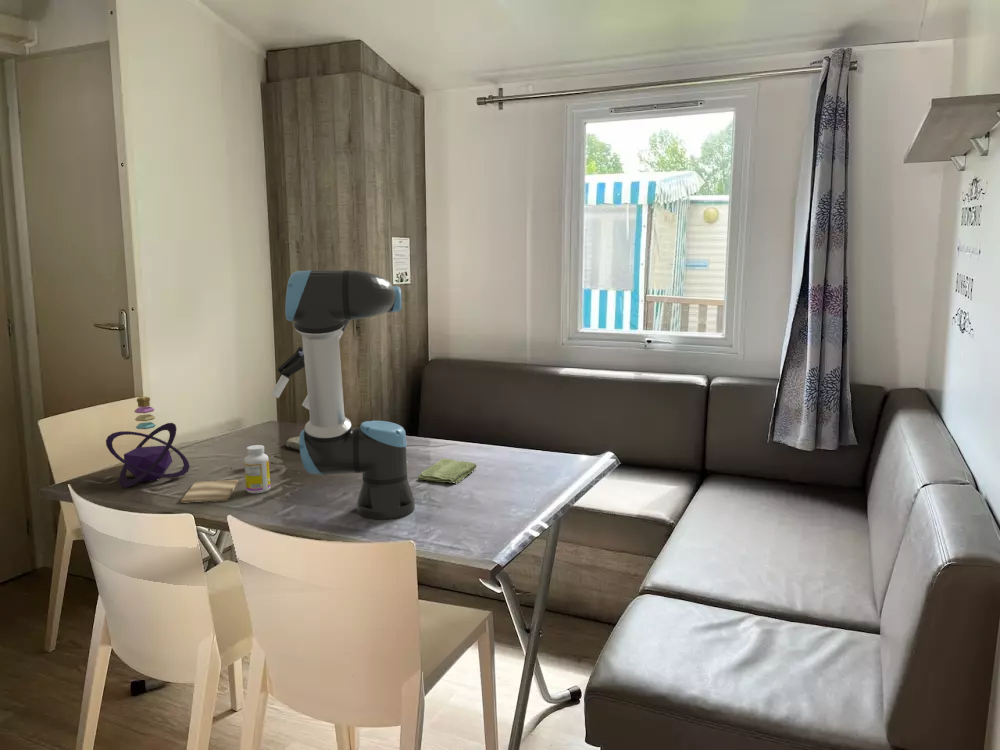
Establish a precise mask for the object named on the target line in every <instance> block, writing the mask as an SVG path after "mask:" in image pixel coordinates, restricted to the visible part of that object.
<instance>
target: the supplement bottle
mask: <svg viewBox="0 0 1000 750" xmlns="http://www.w3.org/2000/svg"><path fill="white" fill-rule="evenodd" d="M246 453H247V455H246V456H245V457H244V460H243V464H244V474H245V475H244V477H245V489H246V492H247V493H248V494H249V493H250V494H262V493H267V492H268V491H269V490H270V489H271V476H270V475H271V474H270V472H271V471H270V461H269V456H268V454H266V453H265V446H264V445H262V444H255V445H248V446H247V447H246Z"/></svg>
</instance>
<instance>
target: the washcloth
mask: <svg viewBox="0 0 1000 750" xmlns="http://www.w3.org/2000/svg"><path fill="white" fill-rule="evenodd" d="M477 466H478V465H477V463H474V462H472V461H471V462H470V461H463V460H461V461H459V460H454V459H452V458H451V459H450V458H445V457H443V458H441V459H440V460H439V461H437V462H435V463H434V464H433V465H431V466H430V467H428V468H426V469H425V470H423V471H421V473H420V474H418V476H417V480H420V481H423V480H426V481H427V482H433V481H434V482H433V483H441V482H442V483H445V482H449V483H448V484H451V483H453V482H455V483H458V482H459V481H461V480H462V479H463V478H465V477H466V476H467V475H468V474H470V473H471V472H472V471H473V470H474V469H475V468H477ZM475 470H476V469H475ZM473 472H474V471H473ZM473 472H472V473H473ZM472 473H471V474H472ZM471 474H470V475H471ZM468 476H469V475H468ZM468 476H467V477H468ZM467 477H466V478H467ZM466 478H465V479H466ZM463 480H464V479H463ZM463 480H462V481H463ZM426 481H425V482H426ZM462 481H461V482H462ZM459 483H460V482H459Z"/></svg>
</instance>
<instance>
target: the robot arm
mask: <svg viewBox="0 0 1000 750" xmlns="http://www.w3.org/2000/svg"><path fill="white" fill-rule="evenodd" d="M284 305H285V308H284V309H285V311H284V313H285V319H286V321H288V322H291V323H292V322H293V324H294V325H293V326H294V330H295V331H296V332H297V333H299V334H300V335H301V339H302V346H299V347H298V348H297V350H295V352H294V353H293V354H292V355H291V356H290V357H289V358H288V359H287V360H285V361H284V362H283V363H282V364H281V365H280V366H279V367H277V372H278V373H279V374H280V375H279V377H278V378H277V381H275V386H274V387H273V390H271V393H270V395H271V396H273V397H275V398H276V399H279V398H280V397H281V395H282V393H283V391H284V390H285V388H286V385H287V384H288V382H289V381H290V377H291V376H292V375H294V374H296V373H297V372H298V371H300V370H301V369H303V368H304V369H305V380H306V382H305V383H306V389H307V391H306V392H307V395H306V397H305V398H304V399H303V402H302V404H301V406H302V407H303V408H305V409H306V410H308V411H309V412H308V413H309V420H308V421H307V422H306V424H305V425H304V429H303V430H301V431H300V433H299V436H300V438H299V444H300V450H299V454H300V458H301V463H302V466H303V468H304V469H305V471H306V472H307V473H308V474H311V475H322V476H327V475H340V474H361V475H362V483H361V486H360V487H361V488H360V489H359V490H360V491H359V494H358V498H357V501H356V512H357V514H358V515H360V516H361V517H363V518H367V519H373V520H390V519H397V518H401V517H404V516H407V515H409V514H411V513H413V512H414V510H415V509H416V504H415V498H414V497H415V496H414V495H413V492H412V490H411V487H410V483H409V481H408V463H407V462H408V460H407V459H408V458H407V447H408V442H407V435H406V430H405V429H404V427H403V426H401V425H400V424H398V423H394V422H391V421H385V420H371V421H370V420H366V421H364V422H361V424H360V426H359V427H356V428H355V427H353V428H352V422H351V420H350V419H349V418H347V416H345V415H346V414H345V405H344V404H345V403H344V387H343V376H342V363H341V350H340V339H341V337H343V334H344V333H345V330H346V329H347V328H348V325H349V324H350V322H351V320H352V321H353V320H362V319H367V318H369V319H370V318H372V317H376V316H379V315H383V314H385V313H397V312H398V313H399V312H400V311H401V310H402V289H401V287H400V286H396V285H395V286H394V285H392V283H391V282H390V281H389V280H388V279H386V278H385V277H383V276H381V275H379V274H375V273H372V272H368V271H365V270H358V269H348V270H343V269H341V270H338V269H337V270H335V269H334V270H333V269H332V270H330V269H329V270H328V269H327V270H325V269H324V270H321V269H320V270H317V269H316V270H314V269H313V270H312V269H309V270H299V271H298V270H297V271H294V272H292V273H291V274H290V276H289V278H288V281H287V287H286V294H285V304H284Z"/></svg>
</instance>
